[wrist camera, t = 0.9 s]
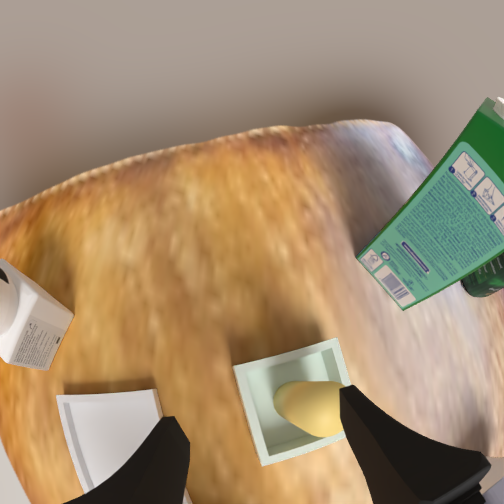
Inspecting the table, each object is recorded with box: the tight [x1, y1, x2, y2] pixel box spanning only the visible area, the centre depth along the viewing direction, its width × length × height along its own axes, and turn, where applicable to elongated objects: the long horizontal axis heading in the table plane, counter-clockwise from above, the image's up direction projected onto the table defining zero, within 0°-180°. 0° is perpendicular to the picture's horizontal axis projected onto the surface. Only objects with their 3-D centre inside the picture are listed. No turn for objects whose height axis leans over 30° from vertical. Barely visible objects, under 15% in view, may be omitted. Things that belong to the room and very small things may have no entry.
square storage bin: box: [232, 337, 351, 466], centre depth 22 cm, size 10×10×4 cm
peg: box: [273, 381, 346, 437], centre depth 19 cm, size 4×4×9 cm
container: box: [0, 259, 74, 370], centre depth 18 cm, size 8×8×13 cm
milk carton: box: [356, 97, 504, 311], centre depth 21 cm, size 9×9×25 cm
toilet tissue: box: [479, 456, 504, 494], centre depth 12 cm, size 11×12×10 cm
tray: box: [56, 389, 192, 504], centre depth 18 cm, size 14×11×2 cm
